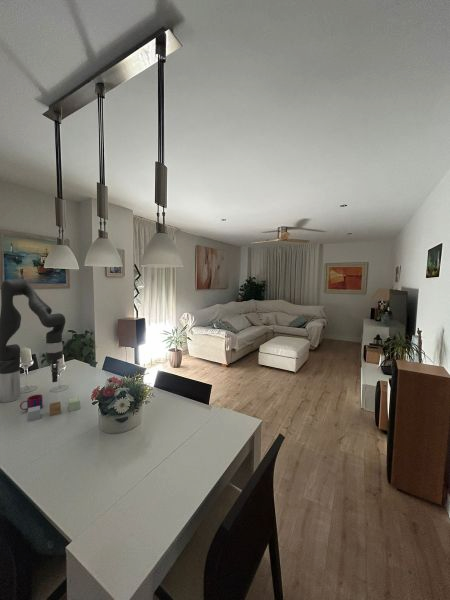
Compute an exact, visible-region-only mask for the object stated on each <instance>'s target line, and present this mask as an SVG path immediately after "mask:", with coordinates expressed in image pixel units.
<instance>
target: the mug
mask: <svg viewBox="0 0 450 600" xmlns="http://www.w3.org/2000/svg"><path fill="white" fill-rule="evenodd" d="M23 403H26V404H27V405H26V406H27V408H23V407H22V404H23ZM36 406H40V410H41V409H43V395H42V394H33V395H30V396H29V397H27V400H24V401H21V402H20V404H19V408H20V409H21V410H23V411H28V408H32V407H36Z"/></svg>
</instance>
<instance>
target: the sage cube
mask: <svg viewBox="0 0 450 600" xmlns="http://www.w3.org/2000/svg"><path fill="white" fill-rule="evenodd" d="M80 399H81V398H80V397H79V396H78V397H74V398H70V399H68V410H69V412H72V411H78V410H80V409H81V400H80Z"/></svg>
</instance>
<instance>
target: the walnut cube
mask: <svg viewBox="0 0 450 600" xmlns="http://www.w3.org/2000/svg"><path fill="white" fill-rule="evenodd" d="M48 405H49V407H48V408H49V417H53V416H56V415H57V416H58V415H61V413H62V408H61V407H62V406H61V405H62V404H61V401H55V402H51V403H49V404H48Z"/></svg>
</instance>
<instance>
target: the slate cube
mask: <svg viewBox="0 0 450 600" xmlns="http://www.w3.org/2000/svg"><path fill="white" fill-rule="evenodd" d="M40 419H41V409H40V406H36V407H32V408H28V410H27V422H32V421H36V420H40Z"/></svg>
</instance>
